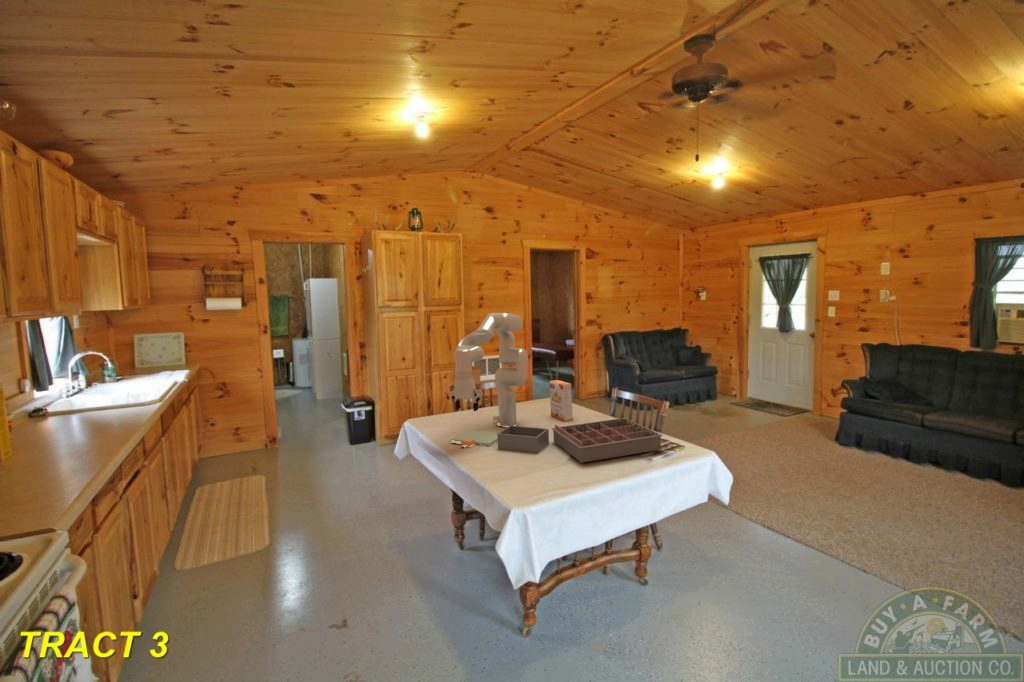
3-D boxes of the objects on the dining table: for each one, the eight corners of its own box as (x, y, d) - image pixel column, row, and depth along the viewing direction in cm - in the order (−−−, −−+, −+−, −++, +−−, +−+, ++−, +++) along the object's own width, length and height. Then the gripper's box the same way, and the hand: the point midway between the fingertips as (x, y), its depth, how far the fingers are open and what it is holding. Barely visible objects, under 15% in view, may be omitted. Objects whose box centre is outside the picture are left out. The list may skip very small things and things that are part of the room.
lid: (446, 446, 241) (446, 439, 241) (467, 434, 259) (466, 427, 259) (486, 450, 232) (486, 443, 232) (504, 438, 250) (504, 431, 250)
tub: (498, 450, 232) (497, 433, 231) (510, 441, 244) (510, 425, 243) (538, 454, 223) (537, 437, 222) (549, 445, 236) (548, 428, 235)
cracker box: (550, 416, 286) (548, 380, 284) (559, 414, 289) (557, 379, 287) (563, 421, 274) (562, 384, 272) (573, 420, 277) (571, 383, 274)
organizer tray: (663, 452, 219) (663, 430, 218) (580, 466, 207) (579, 443, 206) (625, 433, 250) (625, 413, 248) (551, 444, 238) (550, 423, 237)
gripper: (444, 375, 235) (447, 410, 237) (476, 377, 228) (479, 413, 230) (452, 372, 242) (455, 406, 244) (484, 373, 234) (486, 408, 237)
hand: (467, 409), depth 237 cm, fingers open, 9 cm apart
